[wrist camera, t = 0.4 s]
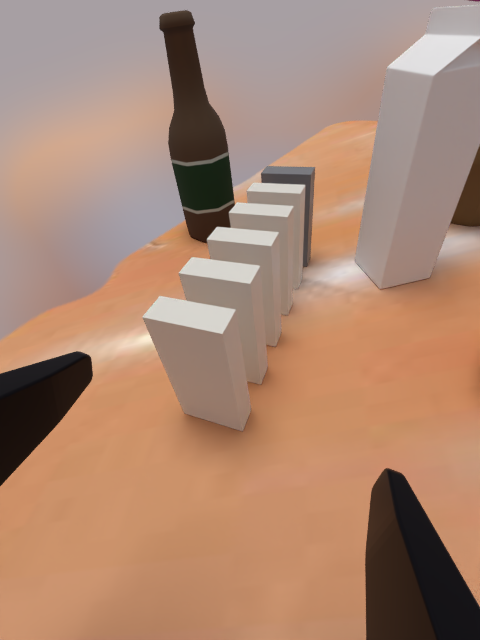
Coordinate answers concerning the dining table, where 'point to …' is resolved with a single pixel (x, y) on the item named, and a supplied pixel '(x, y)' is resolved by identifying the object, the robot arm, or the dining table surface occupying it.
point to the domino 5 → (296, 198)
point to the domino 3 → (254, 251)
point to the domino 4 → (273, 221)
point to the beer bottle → (196, 135)
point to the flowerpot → (470, 196)
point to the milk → (422, 149)
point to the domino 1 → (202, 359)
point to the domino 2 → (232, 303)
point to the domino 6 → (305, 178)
